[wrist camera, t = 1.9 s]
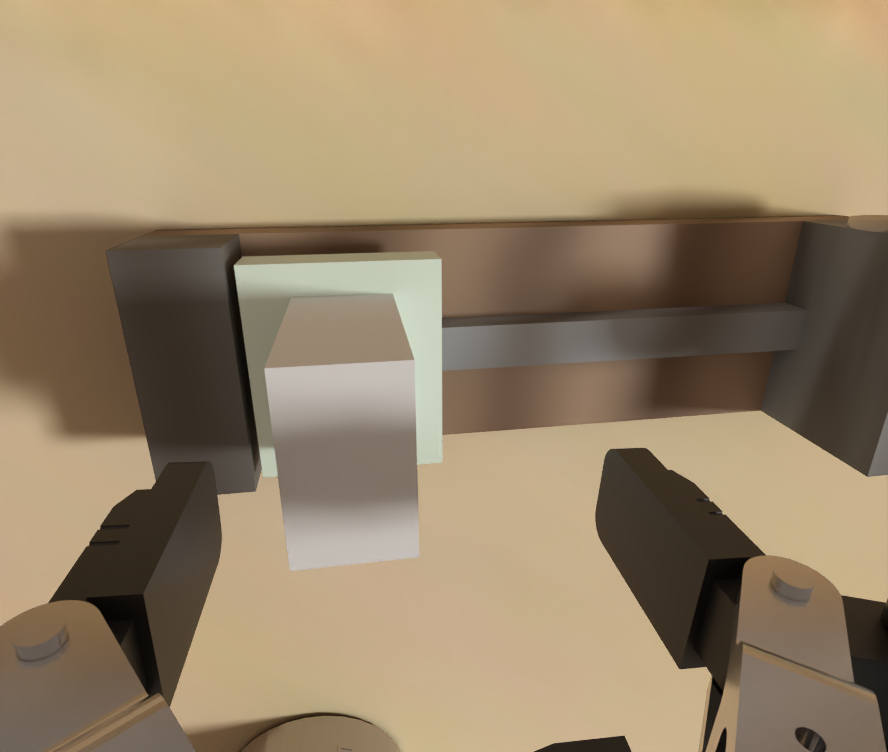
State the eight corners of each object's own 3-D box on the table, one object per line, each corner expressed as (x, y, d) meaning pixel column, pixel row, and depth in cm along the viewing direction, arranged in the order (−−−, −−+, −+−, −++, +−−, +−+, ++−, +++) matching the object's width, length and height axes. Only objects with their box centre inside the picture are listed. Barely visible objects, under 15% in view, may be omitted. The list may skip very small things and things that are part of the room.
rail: (844, 207, 23) (1032, 228, 17) (799, 392, 26) (944, 469, 20) (154, 221, 20) (60, 254, 13) (194, 436, 23) (133, 548, 16)
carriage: (434, 251, 18) (487, 309, 12) (436, 442, 21) (479, 583, 14) (242, 256, 18) (175, 323, 11) (268, 455, 20) (228, 613, 13)
